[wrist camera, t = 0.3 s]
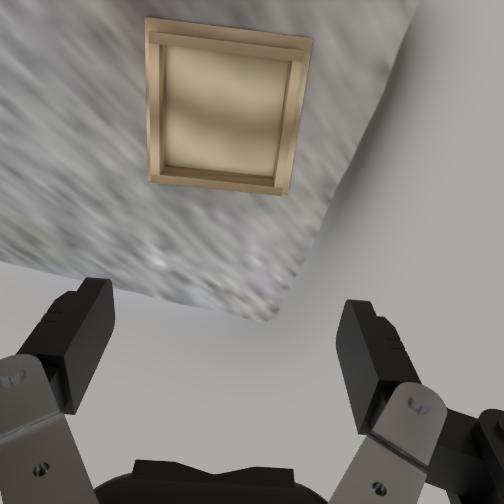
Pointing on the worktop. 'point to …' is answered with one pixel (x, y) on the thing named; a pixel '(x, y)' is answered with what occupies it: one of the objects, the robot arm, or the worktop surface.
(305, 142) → the worktop surface
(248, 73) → the tray
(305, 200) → the worktop surface
